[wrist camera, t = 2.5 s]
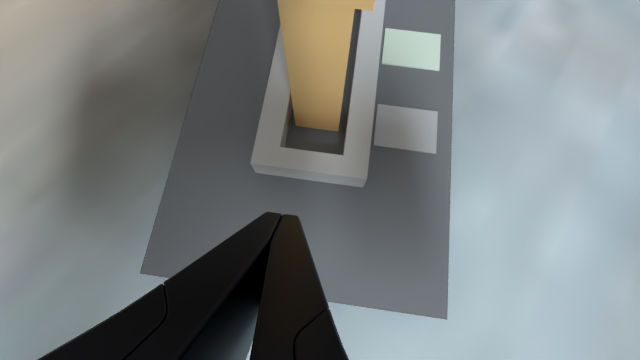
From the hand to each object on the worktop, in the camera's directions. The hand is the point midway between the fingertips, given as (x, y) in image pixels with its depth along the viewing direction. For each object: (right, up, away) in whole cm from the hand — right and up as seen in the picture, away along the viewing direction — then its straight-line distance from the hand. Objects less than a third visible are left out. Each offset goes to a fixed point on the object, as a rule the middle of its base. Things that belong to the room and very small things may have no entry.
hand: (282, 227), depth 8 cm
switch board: (+1, +4, +10) cm, 11 cm away
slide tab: (+1, +5, +8) cm, 10 cm away
